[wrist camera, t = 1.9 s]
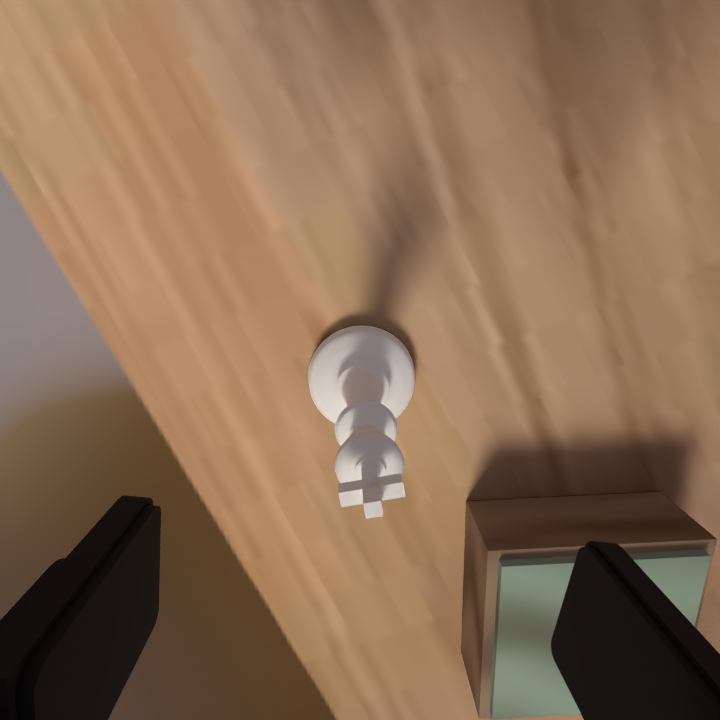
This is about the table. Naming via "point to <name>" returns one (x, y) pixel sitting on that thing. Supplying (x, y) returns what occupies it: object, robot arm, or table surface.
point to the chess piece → (364, 410)
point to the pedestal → (558, 584)
